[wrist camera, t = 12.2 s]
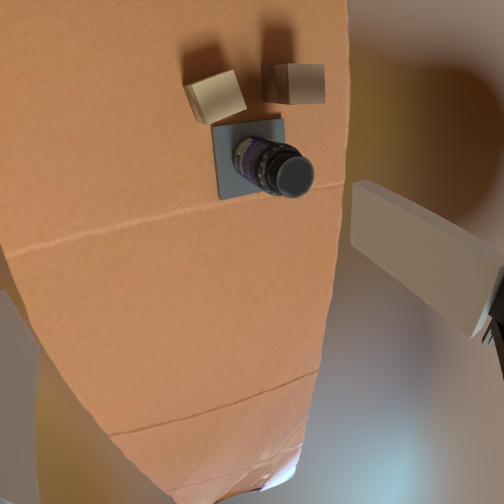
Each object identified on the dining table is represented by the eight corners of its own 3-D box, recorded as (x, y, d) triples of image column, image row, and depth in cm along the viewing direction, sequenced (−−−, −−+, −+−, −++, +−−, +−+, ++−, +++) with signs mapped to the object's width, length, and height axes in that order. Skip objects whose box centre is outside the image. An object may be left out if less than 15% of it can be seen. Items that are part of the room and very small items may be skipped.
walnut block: (261, 66, 36) (287, 63, 31) (293, 66, 38) (323, 64, 32) (263, 101, 39) (289, 104, 33) (295, 99, 40) (325, 103, 35)
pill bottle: (238, 184, 42) (276, 214, 33) (225, 143, 39) (263, 160, 30) (277, 169, 43) (323, 193, 35) (268, 128, 40) (315, 142, 31)
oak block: (182, 86, 34) (191, 85, 30) (219, 72, 35) (233, 69, 31) (196, 121, 37) (207, 125, 33) (231, 106, 38) (247, 108, 34)
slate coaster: (211, 126, 38) (212, 127, 37) (281, 118, 41) (283, 118, 40) (218, 198, 43) (220, 200, 42) (283, 184, 46) (286, 186, 45)
